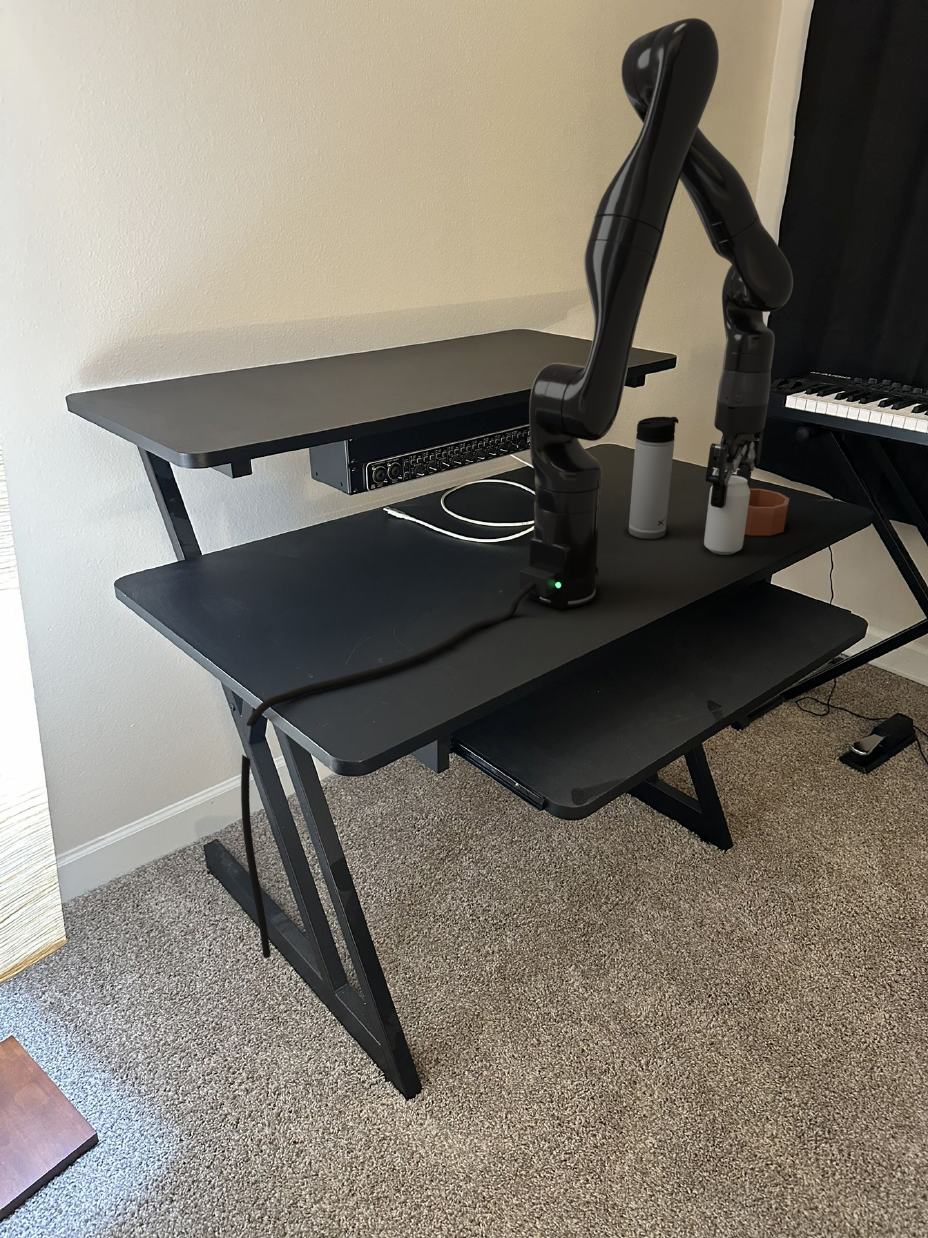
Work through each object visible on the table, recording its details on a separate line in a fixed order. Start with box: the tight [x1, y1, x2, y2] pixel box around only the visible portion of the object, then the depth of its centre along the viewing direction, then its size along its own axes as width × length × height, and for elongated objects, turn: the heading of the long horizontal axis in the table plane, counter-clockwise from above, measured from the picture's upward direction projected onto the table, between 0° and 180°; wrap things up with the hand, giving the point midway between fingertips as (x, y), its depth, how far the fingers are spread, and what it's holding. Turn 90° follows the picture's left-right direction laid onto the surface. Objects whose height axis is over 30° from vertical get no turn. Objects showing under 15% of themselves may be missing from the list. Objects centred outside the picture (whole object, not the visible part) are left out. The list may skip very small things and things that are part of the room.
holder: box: [744, 488, 790, 537], centre depth 157 cm, size 10×11×5 cm
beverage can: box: [703, 474, 751, 556], centre depth 145 cm, size 6×6×12 cm
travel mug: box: [628, 416, 679, 540], centre depth 151 cm, size 6×7×20 cm
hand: (729, 499), depth 144 cm, fingers open, 8 cm apart
